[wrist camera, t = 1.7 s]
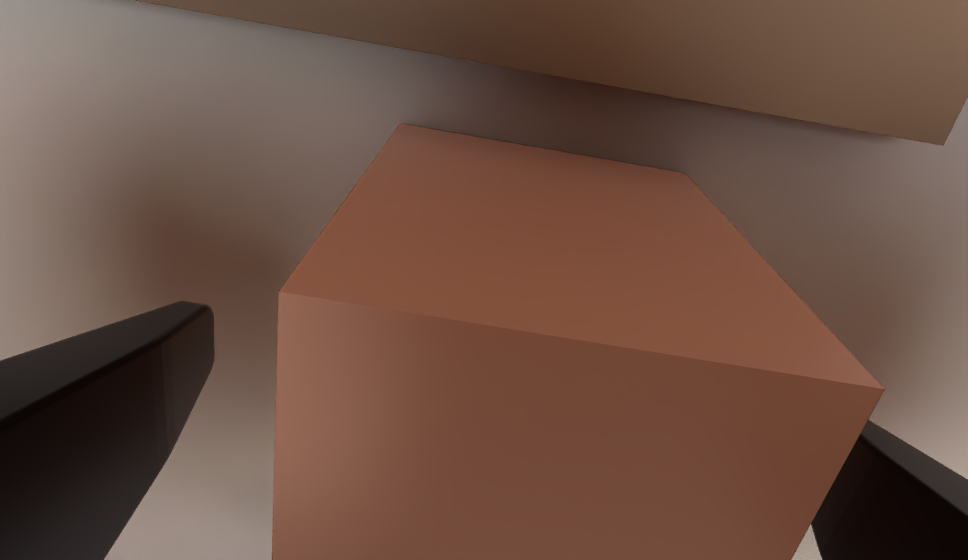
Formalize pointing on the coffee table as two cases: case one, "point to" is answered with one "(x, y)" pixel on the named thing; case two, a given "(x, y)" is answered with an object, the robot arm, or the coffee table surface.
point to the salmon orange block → (548, 370)
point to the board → (686, 49)
